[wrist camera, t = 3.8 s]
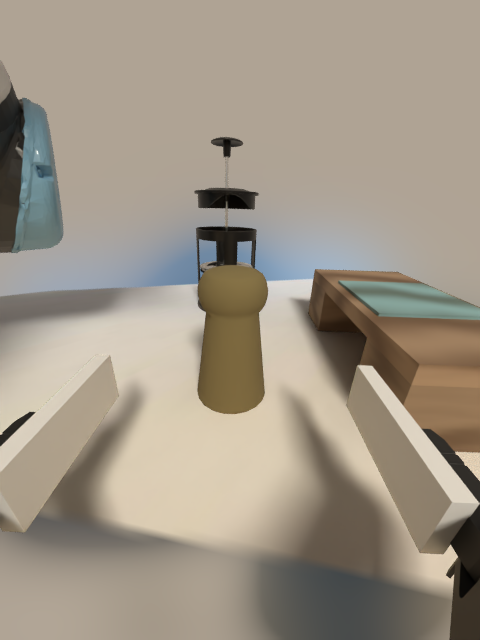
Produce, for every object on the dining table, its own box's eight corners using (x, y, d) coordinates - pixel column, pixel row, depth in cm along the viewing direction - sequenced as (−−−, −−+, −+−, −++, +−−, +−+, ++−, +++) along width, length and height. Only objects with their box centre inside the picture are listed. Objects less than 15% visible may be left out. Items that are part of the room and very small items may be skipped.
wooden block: (561, 455, 17) (634, 368, 14) (386, 448, 17) (421, 359, 14) (384, 316, 39) (398, 270, 36) (308, 313, 39) (315, 267, 36)
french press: (261, 315, 38) (274, 131, 28) (199, 318, 36) (190, 123, 27) (245, 291, 48) (250, 151, 39) (196, 292, 47) (190, 146, 37)
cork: (208, 365, 26) (205, 257, 21) (267, 373, 25) (277, 262, 20) (187, 407, 20) (176, 274, 16) (261, 419, 19) (273, 281, 15)
